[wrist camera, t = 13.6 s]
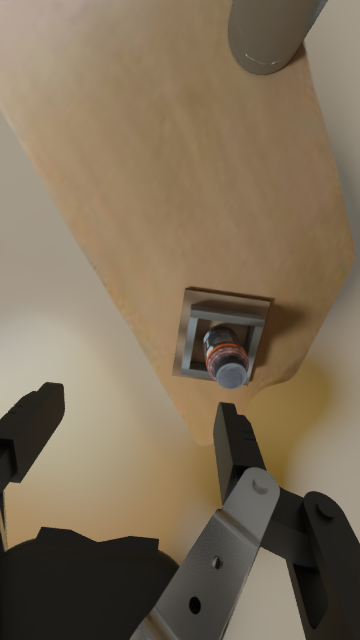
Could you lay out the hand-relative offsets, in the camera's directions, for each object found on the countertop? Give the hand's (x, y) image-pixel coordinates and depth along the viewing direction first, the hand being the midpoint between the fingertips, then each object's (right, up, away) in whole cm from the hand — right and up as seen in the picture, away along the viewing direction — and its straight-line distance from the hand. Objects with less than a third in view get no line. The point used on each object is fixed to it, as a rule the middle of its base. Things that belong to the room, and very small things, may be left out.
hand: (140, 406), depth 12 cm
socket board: (+9, +1, +30) cm, 31 cm away
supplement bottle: (+9, +1, +30) cm, 31 cm away
